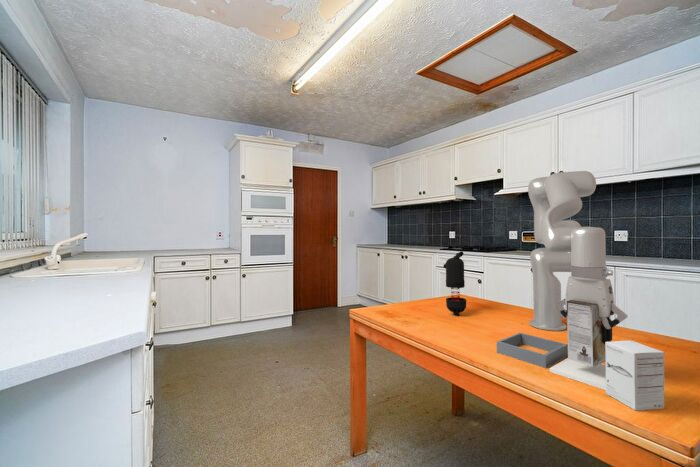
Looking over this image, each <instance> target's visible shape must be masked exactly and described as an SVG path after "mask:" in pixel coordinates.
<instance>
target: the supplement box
mask: <svg viewBox="0 0 700 467" xmlns="http://www.w3.org/2000/svg"><path fill="white" fill-rule="evenodd" d="M605 346H606V347H605V349H606V351H605V352H606V362H605V365H606V390H605V394H606V395H607V396H610V397H612V398H613V399H615V400H616V401H618V402H620V403H622V404H623V405H626V406H627V407H629V408H630V409H632V410H634V411H648V410H650V411H651V410H662V409H665V351H662V350H660V349H657V348H653V347H651V346H648V345H646V344H643V343H640V342H636V341H634V340H615V341H614V340H612V341H611V342H605Z"/></svg>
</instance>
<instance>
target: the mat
mask: <svg viewBox="0 0 700 467" xmlns="http://www.w3.org/2000/svg"><path fill="white" fill-rule="evenodd" d="M549 373H552V374H555V375H558V376H561V377H564V378H568V379H570V380H573V381H576V382H580V383H582V384H586V385H589V386H592V387H595V388H598V389H601V390H605V391H606V364H603V363H602V364H599V365H597V366H595V367H592V366H589V365H586V364H583V363H580V362H577V361H574V360H570V359H568V357H567V358H564V359H563V360H560V362H558V363H555V364H553V365H552V366H550V368H549Z"/></svg>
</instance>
